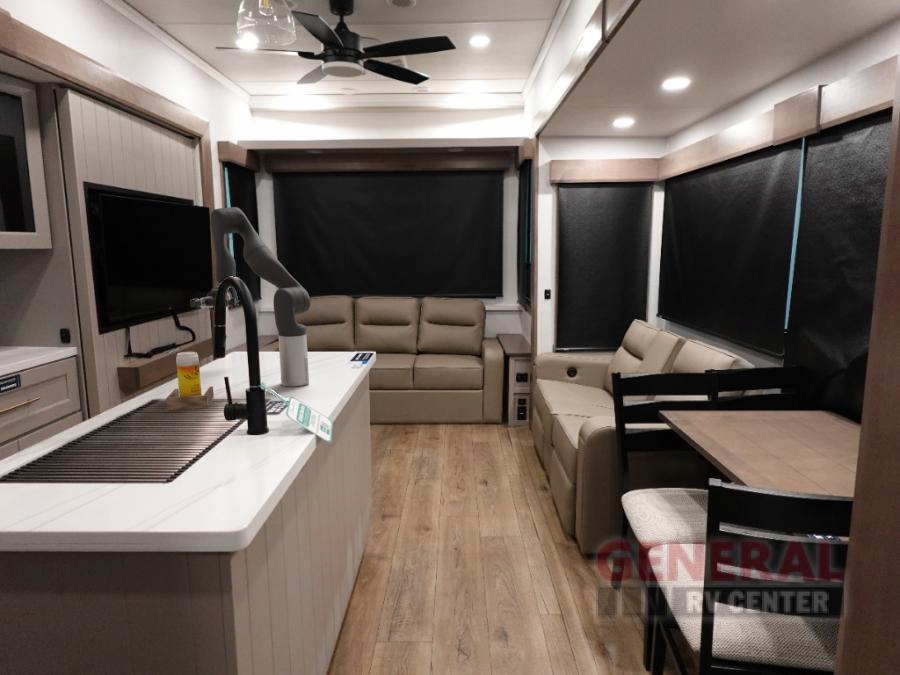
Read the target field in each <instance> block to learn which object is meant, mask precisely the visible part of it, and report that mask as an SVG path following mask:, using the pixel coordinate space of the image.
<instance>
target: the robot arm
mask: <svg viewBox="0 0 900 675" xmlns="http://www.w3.org/2000/svg"><path fill="white" fill-rule="evenodd" d="M210 213H211V214H210V217H209V218H210V229H211V235H212V242H213V248H214V256H215V281H216V283H218V284H219V285H214V286H213V287H212V288H211V290H210V291H209V292H208V293H207V294H206V296H205V297H200V299H199V298H197V297H195V298H192V299H190V308H193V309H194V308H195V309H199V308H202V309H206V308H208V309H209V310H210V311H211V312H212V311H213V312H215V311H214V306H215V297H216V293H217V290H218V287H219V286H220V285H221V284H220V283H221V282H222V281H223V280H224V279H225V278H227V277H229V276H233V277H236V272H237V270H236V269H237V268H236V267H237V265H236V260H235V258H234V256H233V254H232V253H231V251H230V250H229V248H228V247H227V245H226V242H225V236H226V235H231V234H239V235H240V236H241V238H242V239H243V243H244V244H243V259H244V261H245V263H246V264H247V265H248V267H249V268H250V269H251V270H252V272H253V273H254V274H255V275H257V276H258V277H259V278H261V279H262V280H264V281H265V282H268V283H270V284H271V285H273V286H275V287H276V288H278V289H277V290H275V292H274V295H273V310H274V312H273V313H274V320H275V321H274V322H275V327H276V330H277V334H278V348H279V351H278V352H279V366H280V368H279V370H280V381H281V382H280V383H281V384H280V385H282V386H283V387H301V386H305V385H309V384H310V375H309V374H310V373H309V357H308V344H307V343H308V342H307V340H308V339H307V327H306V325H304V324H301V323H298V322H297V321H296V318H295V315H300V314H303V313H306V312H308V311H309V310H310V308H311V304H312V303H311V302H312V301H311V298H310V296H309V293H308V291H307V290H306V289H305V287H303V285H301V284H300V283H299V282H298V281H297V279H295V278H294V277H293V276H292V275H291V274H290V272H289V271H288V270H287V269H286V268H285V266H284V265H283V264H282V263H281V262H280V261H279V260H278V258H277V256H276V254H274V252H272V250H271V249H270V248H269V246H268V245H267V244H266V243H265V242H264V241H263V239H262V237H260V235H259V234H258V232H257V231H256V230H255V229H254V227H253V225H252V223H251V222H250V221H249V219H248V217H247V216H246V214H245V213H244V212H243V210H241V209H240V208H239V207H238V206H230V207H219V208H215V209H213V210H211V212H210ZM239 302H240V300H238V296H237V292H236V290H235V289H234V288H232V287H231V288H229V290H228V293H227V299H226V308H227V307H230V306H231V307H235V306H236V305H238V304H239Z"/></svg>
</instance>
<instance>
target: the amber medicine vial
mask: <svg viewBox="0 0 900 675" xmlns="http://www.w3.org/2000/svg"><path fill="white" fill-rule="evenodd" d="M175 359H176V360H175V362H176V372H177V373H176V374H177V384H178V389H179V397H182V396H197V395H203V394H202V383H201V372H200V371H201V370H200V361H199V354H198V353H197V351H184V352H183V351H182V352H178V353H177V354H176V358H175Z"/></svg>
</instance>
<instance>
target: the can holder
mask: <svg viewBox="0 0 900 675" xmlns="http://www.w3.org/2000/svg"><path fill="white" fill-rule="evenodd" d="M214 396H215V394H214V386H208V388H207V390H206V391H205V392H204V394H202V395H197V396H182V397H179V388H174V389H173V390H172V392H171V393H170V394H169V395H168V396H166V398H165V400H166V401H165V402H166V411H176V410H178V411H179V410H189V409H190V410H191V409H192V410H193V409H205V408H209V406H210V404H211V403H212V401H213V400H214V398H215V397H214Z"/></svg>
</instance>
